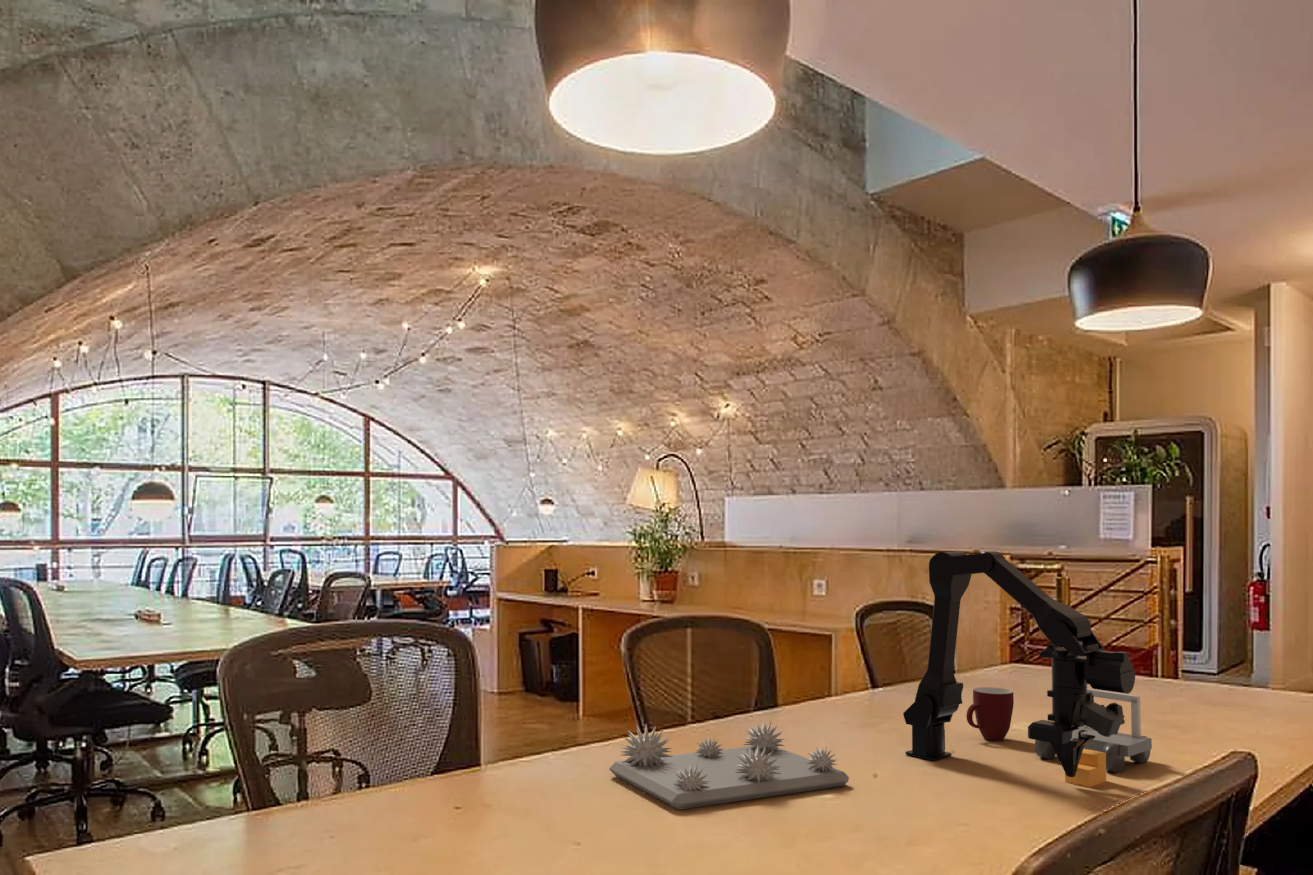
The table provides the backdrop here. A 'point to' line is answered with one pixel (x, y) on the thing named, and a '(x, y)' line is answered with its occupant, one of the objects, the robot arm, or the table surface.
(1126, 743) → the trolley
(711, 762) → the decorative tray
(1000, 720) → the mug
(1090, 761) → the orange stair block
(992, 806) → the table surface
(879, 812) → the table surface
